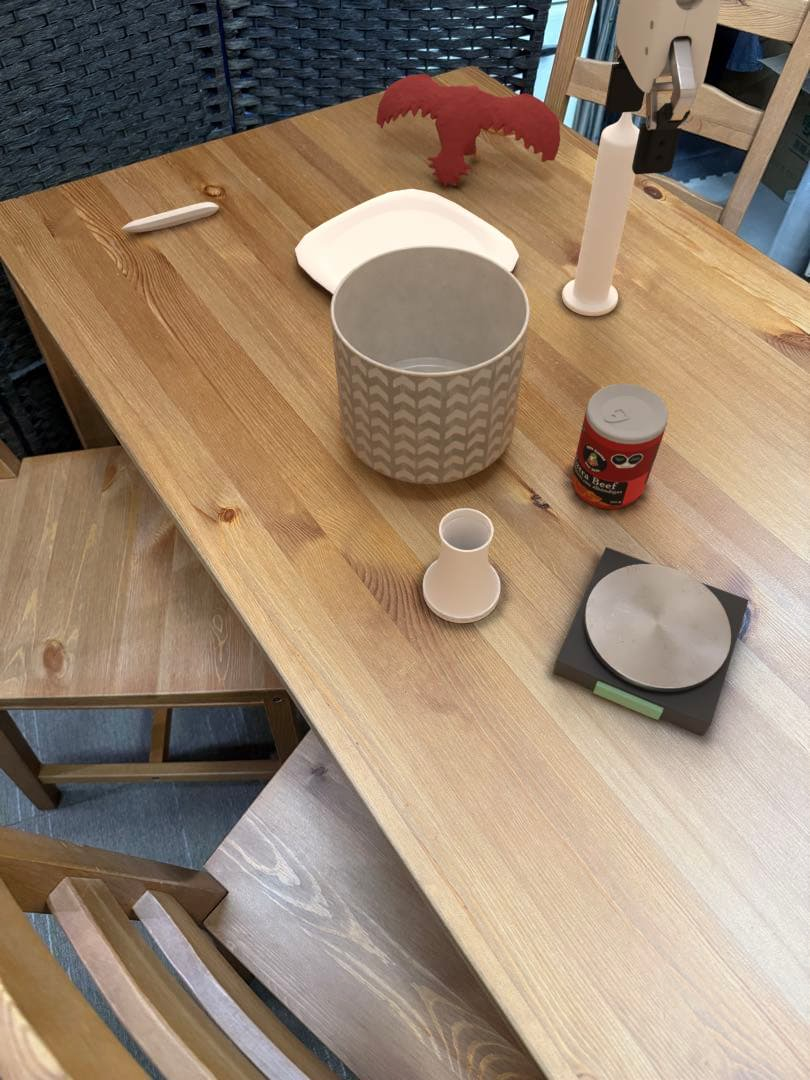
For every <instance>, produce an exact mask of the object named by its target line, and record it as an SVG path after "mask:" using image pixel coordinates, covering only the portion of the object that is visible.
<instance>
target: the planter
mask: <svg viewBox="0 0 810 1080" xmlns="http://www.w3.org/2000/svg"><path fill="white" fill-rule="evenodd" d="M329 310H330V311H329V312H330V323H331V334H332V343H333V344H332V345H333V352H334V365H335V374H336V384H337V394H338V403H339V415H340V424H341V430H342V434H343V437H344V439H345V442H346V443H347V445H348V447H349V448H350V450H351V451H352V452H353V454H354V455H355V456H356V457H357V458H358V459H359V460H360V461H361V462H362V463H363V464H365V465H366V466H367V467H369V468H371V469H372V470H374V471H376V472H377V473H379V474H382V475H384V476H386V477H388V478H391V479H394V480H396V481H397V480H398V481H401V482H406V483H411V484H424V485H427V484H428V485H432V484H433V485H436V484H445V483H451V482H455V481H460V480H463V479H466V478H469V477H472V476H474V475H476V474H478V473H479V472H481V471H484V470H485V469H486V468H488V467H489V466H491V465H492V464H493V463H495V462H496V461H497V460H498V459H499V458H500V457H501V456H502V455H503V453H504V452H505V451H506V450H507V448H508V446H509V445H510V443H511V440H512V438H513V435H514V431H515V426H516V419H517V413H518V405H519V397H520V392H521V391H520V390H521V384H522V376H523V369H524V362H525V355H526V347H527V340H528V334H529V333H528V332H529V326H530V319H531V306H530V301H529V297H528V294H527V291H526V290H525V288H524V286H523V285H522V283H521V282H520V281H519V280H518V277H516V276H515V275H514V274H513V272H509V271H508V270H507V269H506V268H504V267H503V266H502V265H500V264H499V263H497V262H495V261H493V260H491V259H489V258H487V257H485V256H483V255H480V254H478V253H475V252H471V251H468V250H464V249H460V248H454V247H447V246H434V245H428V246H412V247H405V248H400V249H395V250H391V251H388V252H385V253H382V254H379V255H377V256H374V257H372V258H370V259H368V260H366V261H364V262H363V263H361V264H359V265H358V266H357V267H355V268H354V269H352V270H351V271H350V272H349V273H348V274H347V275H346V276H345V277H344V278H343V279H342V280H341V282H340V283H339V285H338V286H337V288H336V290H335V292H334V295H332V297H331V301H330V309H329Z"/></svg>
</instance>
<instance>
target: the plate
mask: <svg viewBox="0 0 810 1080" xmlns="http://www.w3.org/2000/svg"><path fill="white" fill-rule="evenodd" d="M428 245H434V246H447V247H454V248H460V249H464V250H468V251H471V252H475V253H478V254H480V255H483V256H485V257H487V258H489V259H491V260H493V261H495V262H497V263H499V264H500V265H502V266H503V267H504V268H506V269H507V270H508V271H509V272H511V273H513V271H514V268H515V267H516V265H517V262H518V260H519V258H520V254H519V252H518V250H517V248H516V246H515V245H514V243H513V241H512V240H511V239H510V238H509V237H507V236H506V235H505V234H504V233H502V232H501V231H499V229H497V228H496V227H494V226H493V225H492V224H491V223H488V222H486V221H485V220H484V219H482V218H481V217H479V216H477V215H475V214H474V213H473V212H471V211H469V210H467V209H466V208H464V207H463V206H461V205H460V204H457V203H456V202H454V201H451V200H450V199H447V198H446V197H443V196H441V195H439V194H437V193H435V192H431V191H426V190H421V189H417V188H407V189H401V190H400V189H399V190H394V191H388V192H386V193H383V194H381V195H378V196H376V197H373V198H371V199H370V198H369V199H368V200H366V201H364V202H362V203H359V204H358V205H356V206H354V207H352V208H350V209H348V210H346V211H343V212H342V213H340V214H337V215H336V216H334V217H333V218H331V219H329V220H327V221H325V222H323V223H322V224H320V225H319V226H317V227H315V228H314V229H312V230H311V231H309V232H307V233H305V234H304V236H303V237H302V238H301V240H300V241H299V243H298V244H297V246H295V248H294V252H295V255H296V259H297V263H298V264H297V265H298V266H299V267H300V268H301V269H302V270H303V271H304V272H305V273H306V274H307V275H308V276H309V277H310V278H311V279H312V280H313V281H314V282H316V283H317V284H318V285H319V286H321V287H322V288H323V289H324V290H325V291H327V292H328V293H329V294H331V295H332V296H333V295H334V292H335V290H336V288H337V286H338V285H339V283H340V282H341V280H342V279H343V278H344V277H345V276H346V275H347V274H348V273H349V272H350V271H351V270H352V269H354V268H355V267H357V266H358V265H359V264H361V263H363V262H364V261H366V260H368V259H370V258H372V257H374V256H377V255H379V254H382V253H385V252H388V251H391V250H395V249H400V248H405V247H412V246H428Z"/></svg>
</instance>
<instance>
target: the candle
mask: <svg viewBox="0 0 810 1080" xmlns="http://www.w3.org/2000/svg"><path fill="white" fill-rule="evenodd" d="M639 131H640V128H639V127H637V126H636V125H635V124H634V123H633V119H632V112H623V113H622V114H621V116H620V118H619V119H618V121H616V122H615V123H613V124H610V125H608V126H606V127H605V128H604V129H602V131H601V133H600V134H601V135H600V140H599V145H598V151H597V157H596V162H595V166H594V167H595V168H594V173H593V177H592V178H593V179H592V184H591V190H590V196H589V199H588V200H589V201H588V206H587V210H586V211H587V212H586V216H585V222H584V228H583V234H582V239H581V244H580V250H579V255H578V261H577V266H576V272H575V277H574V278H575V279H571V280H569V282H567V283H566V284H565V285H564V287H563V288H562V292H561V298H562V302H563V304H564V305H565V306H566V307H567V308H568V309H569V310H571V311H572V312H574V313H576V314H578V315H581V316H587V317H598V316H603V315H606V314H608V313H610V312H612V311H613V310H614V309H615V308H616V307H617V305H618V302H619V293H618V291H617V289H616V288H615V286H614V285H612V283H613V282H612V281H613V277H614V273H615V268H616V264H617V259H618V254H619V250H620V245H621V240H622V237H623V232H624V227H625V223H626V219H627V214H628V210H629V206H630V201H631V197H632V192H633V188H634V183H635V180H636V179H635V178H636V175H637V174H634V172H633V170H632V164H633V159H634V155H635V150H636V145H637V140H638V135H639Z"/></svg>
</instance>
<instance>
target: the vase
mask: <svg viewBox="0 0 810 1080" xmlns="http://www.w3.org/2000/svg"><path fill="white" fill-rule="evenodd" d="M494 532H495V529H494V525H493V522H492V520H491V519H490V517H488V516H487V514H485V513H483V512H482V511H480V510H477V509H475V508H468V507H463V508H456V509H454V510H451V511H449V512H448V513H446V514H445V515H444V516H443V517H442V518H441V521H440V522H439V526H438V534H439V539H440V550H439V556H438V558H437V559H435V560H434V561H433V562H432V563H431V564H430V565H429V567H428V568H427V569H426V571H425V573H424V576H423V580H422V595H423V599H424V601H425V603H426V606H427V607H428V608H429V610H431V611H432V612H433V613H434V614H435V615H436V616H437V617H439V618H441V619H443V620H445V621H447V622H451V623H454V624H455V623H456V624H470V623H473V622H474V623H475V622H477V621H479V620H482V619H484V618H485V617H487V616H489V615H490V614H491V613H492V612H493V610H494V609H495V608H496V607H497V605H498V602H499V600H500V594H501V580H500V577H499V574H498V572H497V571H496V569H495V568H494V567H493V566H492V564H491V563H490V560H489V551H490V545H491V543H492V539H493V536H494Z"/></svg>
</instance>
